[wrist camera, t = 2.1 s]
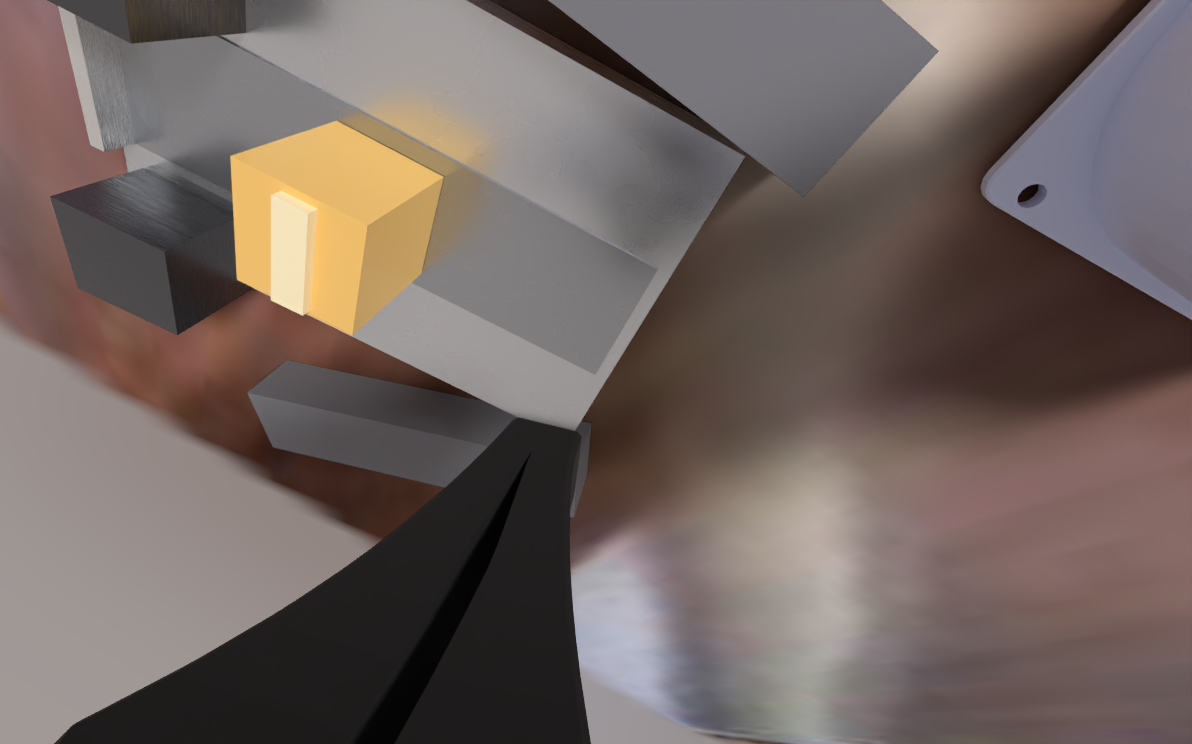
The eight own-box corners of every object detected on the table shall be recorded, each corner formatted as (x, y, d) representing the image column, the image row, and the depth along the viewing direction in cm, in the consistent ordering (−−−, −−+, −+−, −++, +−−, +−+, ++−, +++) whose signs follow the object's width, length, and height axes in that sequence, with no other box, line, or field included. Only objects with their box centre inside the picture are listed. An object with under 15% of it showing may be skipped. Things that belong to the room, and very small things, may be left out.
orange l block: (443, 176, 13) (359, 231, 10) (421, 273, 15) (344, 342, 12) (336, 120, 13) (218, 159, 10) (328, 226, 15) (227, 285, 12)
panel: (745, 143, 12) (746, 199, 9) (576, 419, 19) (542, 508, 16) (108, -214, 11) (-155, -298, 8) (171, 219, 18) (44, 272, 15)
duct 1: (593, 417, 20) (576, 465, 18) (588, 469, 21) (573, 517, 19) (292, 355, 21) (247, 392, 19) (312, 408, 23) (272, 447, 21)
